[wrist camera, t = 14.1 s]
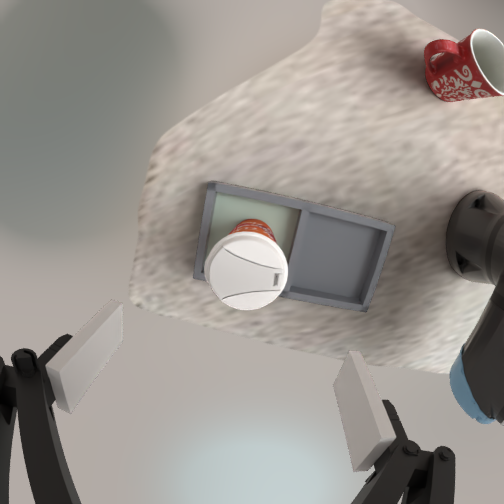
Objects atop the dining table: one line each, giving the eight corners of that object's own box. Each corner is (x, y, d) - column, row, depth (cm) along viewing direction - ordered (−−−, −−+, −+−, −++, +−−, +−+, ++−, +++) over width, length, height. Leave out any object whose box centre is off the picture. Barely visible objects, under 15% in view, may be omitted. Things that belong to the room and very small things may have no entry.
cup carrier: (387, 221, 39) (395, 225, 36) (361, 303, 42) (366, 312, 40) (212, 180, 38) (208, 181, 36) (197, 271, 42) (192, 278, 39)
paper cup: (284, 213, 38) (294, 239, 25) (278, 268, 41) (283, 318, 27) (225, 208, 39) (202, 231, 25) (221, 263, 41) (200, 310, 27)
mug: (463, 65, 30) (513, 46, 17) (465, 114, 33) (521, 106, 20) (398, 40, 30) (441, 4, 18) (399, 91, 33) (450, 68, 20)
